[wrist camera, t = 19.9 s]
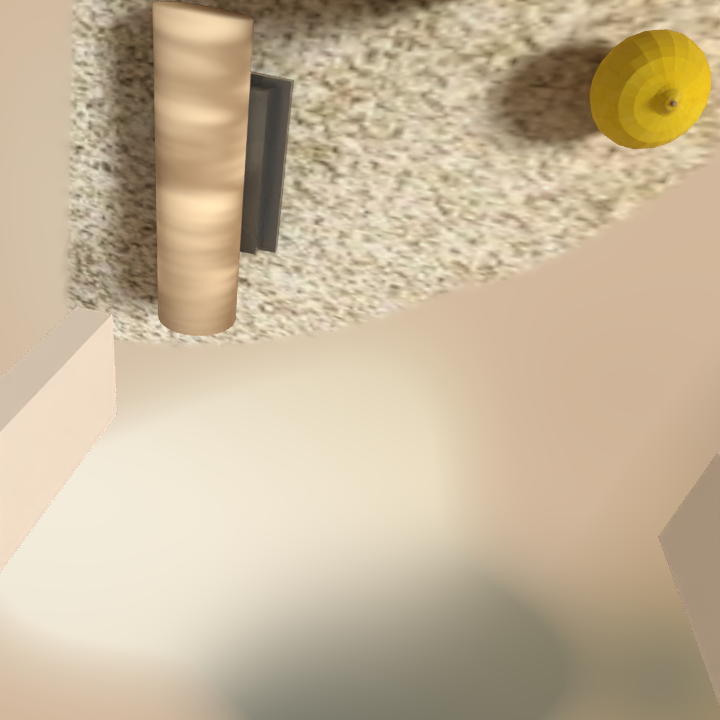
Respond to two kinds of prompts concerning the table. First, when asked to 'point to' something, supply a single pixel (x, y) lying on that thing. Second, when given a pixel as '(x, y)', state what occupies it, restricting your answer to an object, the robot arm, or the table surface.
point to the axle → (199, 161)
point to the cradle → (265, 161)
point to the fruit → (650, 89)
